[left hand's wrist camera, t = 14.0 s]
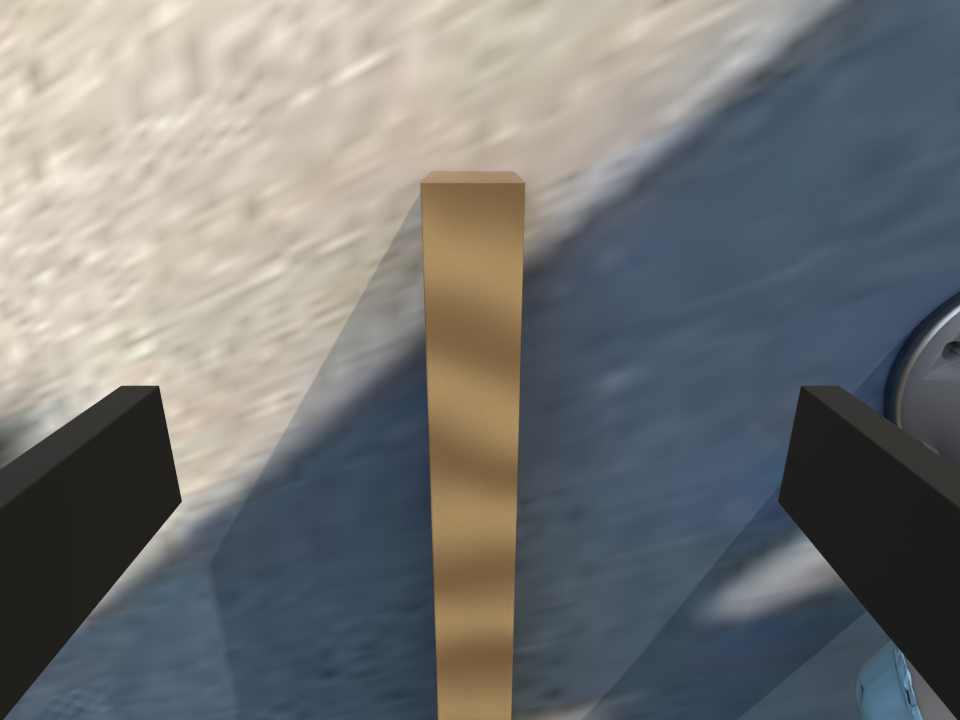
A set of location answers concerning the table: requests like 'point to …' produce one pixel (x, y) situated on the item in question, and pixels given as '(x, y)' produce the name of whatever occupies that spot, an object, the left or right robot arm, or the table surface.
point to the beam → (473, 430)
